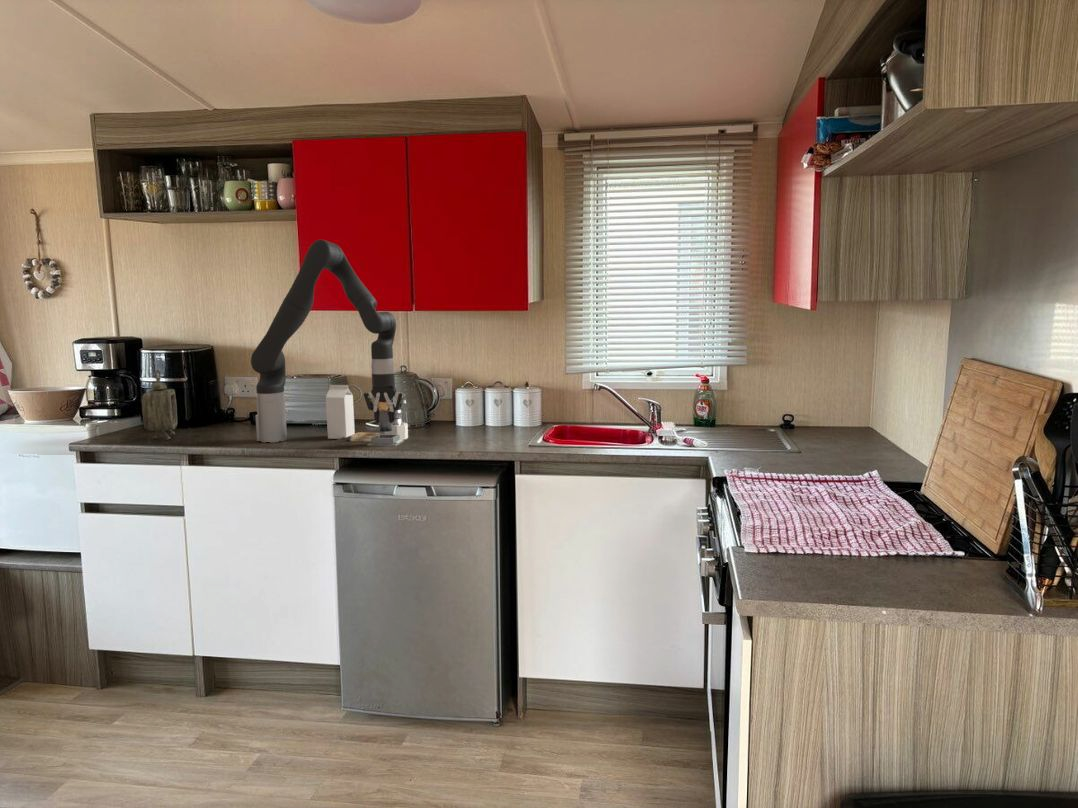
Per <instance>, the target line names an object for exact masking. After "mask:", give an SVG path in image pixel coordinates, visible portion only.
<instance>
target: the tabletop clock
mask: <svg viewBox="0 0 1078 808" xmlns="http://www.w3.org/2000/svg"><path fill="white" fill-rule="evenodd" d="M155 381H156V382H155V383H152V385H151V387H150V389H149V390H148V391H146V392H145V393H143V394H142V396H141V408H142V421H143V427H144V429H145V430H148V431H150V432H155V434H154V435H153V438H154V437H158V438H159V435H158V433H159V431H161V432H162V433H163V435H164V436H165V438H164V440H166V439H170V440H171V437H170V436H168V433H167V431H169V434H170V435H171V434H175V435H176V432H175V431H174V430H176V428H177V427H178V408H177V407H178V405H177V397H176V390H175V388H168V387H167V385H166V384H165V383H163V382H161V371H160V370H159V369H157V370H155Z"/></svg>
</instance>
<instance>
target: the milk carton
mask: <svg viewBox="0 0 1078 808" xmlns="http://www.w3.org/2000/svg"><path fill="white" fill-rule="evenodd" d="M349 388H350V387H349V385H348V384H329V388H328V391H327V393H326V396H325V407H326V409H325V411H326V425H327V426H326V427H327V428H326V429H327V439H330V440H333V439H334V440H335V439H336V440H340V439H342V438H348V437H350V436H351V435H353V434H355V432H356V430H355V414H354V411H355V409H354V395H353V393H352V391H351V390H350V389H349Z"/></svg>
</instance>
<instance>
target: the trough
mask: <svg viewBox="0 0 1078 808" xmlns="http://www.w3.org/2000/svg"><path fill="white" fill-rule="evenodd" d="M378 434H383V432H356V433H355V434H353V435H351V436H349V441H350V442H371V438H372V437H374V436H376V435H378Z"/></svg>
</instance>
